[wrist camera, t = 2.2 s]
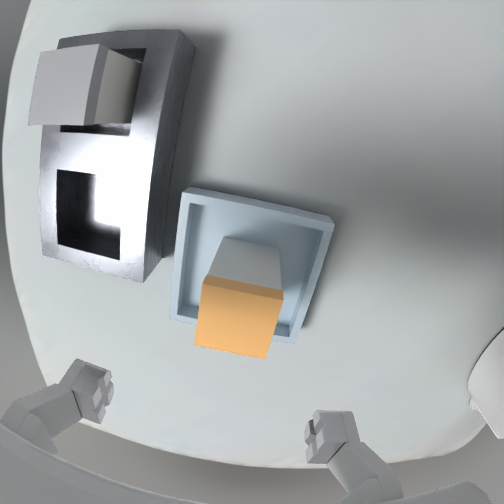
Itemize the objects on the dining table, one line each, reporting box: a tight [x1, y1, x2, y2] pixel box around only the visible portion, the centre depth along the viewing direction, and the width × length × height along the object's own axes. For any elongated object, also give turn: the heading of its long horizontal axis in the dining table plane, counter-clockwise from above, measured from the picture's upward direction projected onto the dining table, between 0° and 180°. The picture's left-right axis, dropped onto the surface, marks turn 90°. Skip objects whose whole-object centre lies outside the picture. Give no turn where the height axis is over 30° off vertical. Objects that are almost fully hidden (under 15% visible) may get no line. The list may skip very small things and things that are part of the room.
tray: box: [169, 187, 335, 344], centre depth 21 cm, size 10×10×2 cm
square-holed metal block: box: [39, 30, 196, 283], centre depth 17 cm, size 16×9×4 cm, turn 168°
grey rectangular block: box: [28, 44, 143, 125], centre depth 14 cm, size 4×4×7 cm
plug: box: [194, 237, 284, 359], centre depth 19 cm, size 4×4×7 cm
